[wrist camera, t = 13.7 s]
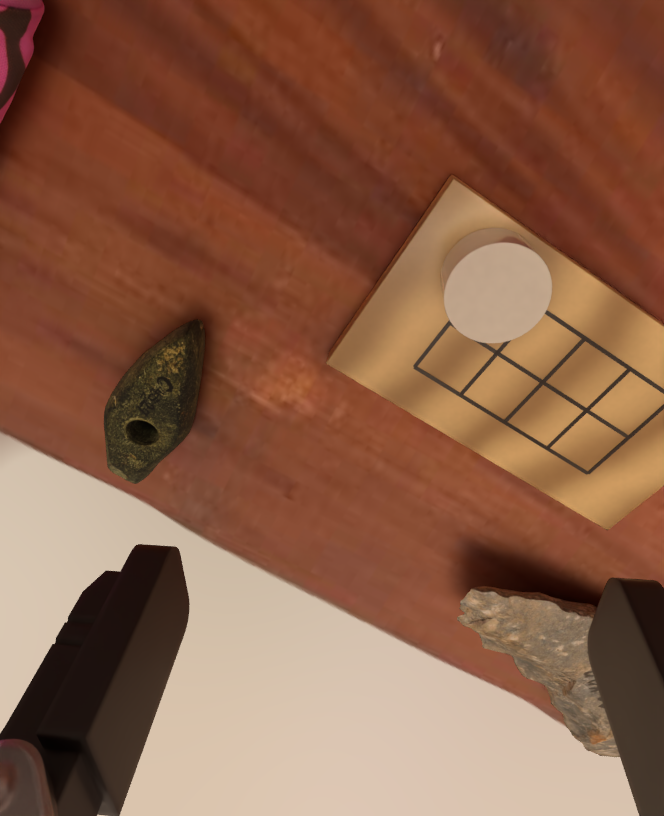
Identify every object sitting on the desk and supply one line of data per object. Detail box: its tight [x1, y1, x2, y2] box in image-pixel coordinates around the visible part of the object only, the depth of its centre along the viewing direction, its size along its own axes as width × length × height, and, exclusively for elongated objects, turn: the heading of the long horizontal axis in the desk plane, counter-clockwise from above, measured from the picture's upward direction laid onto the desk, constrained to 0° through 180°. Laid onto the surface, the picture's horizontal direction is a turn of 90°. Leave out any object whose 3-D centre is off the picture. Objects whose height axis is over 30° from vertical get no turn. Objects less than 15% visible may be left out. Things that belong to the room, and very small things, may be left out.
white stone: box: [440, 228, 552, 343], centre depth 26 cm, size 5×5×3 cm
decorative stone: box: [104, 319, 205, 484], centre depth 32 cm, size 12×5×4 cm, turn 165°
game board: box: [326, 175, 664, 530], centre depth 30 cm, size 20×11×1 cm, turn 59°
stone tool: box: [457, 586, 620, 757], centre depth 39 cm, size 13×5×25 cm
